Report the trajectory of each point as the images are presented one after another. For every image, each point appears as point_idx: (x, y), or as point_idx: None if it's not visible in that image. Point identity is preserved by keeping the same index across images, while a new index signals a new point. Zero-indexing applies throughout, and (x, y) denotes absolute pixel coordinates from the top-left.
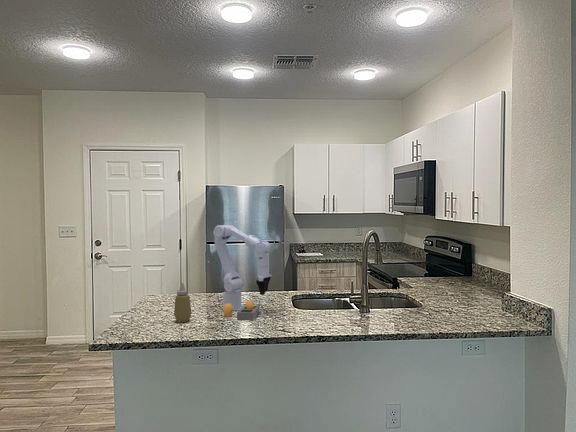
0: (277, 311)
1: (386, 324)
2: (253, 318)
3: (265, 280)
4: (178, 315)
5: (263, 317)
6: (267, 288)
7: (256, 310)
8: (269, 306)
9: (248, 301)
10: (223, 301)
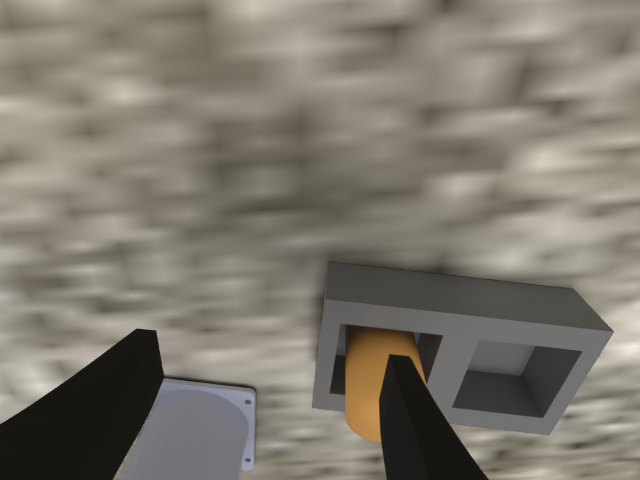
0: (267, 99)
1: None
2: (581, 299)
3: None
4: None
5: (495, 221)
6: (125, 362)
7: (475, 310)
8: (75, 195)
9: None
10: None
